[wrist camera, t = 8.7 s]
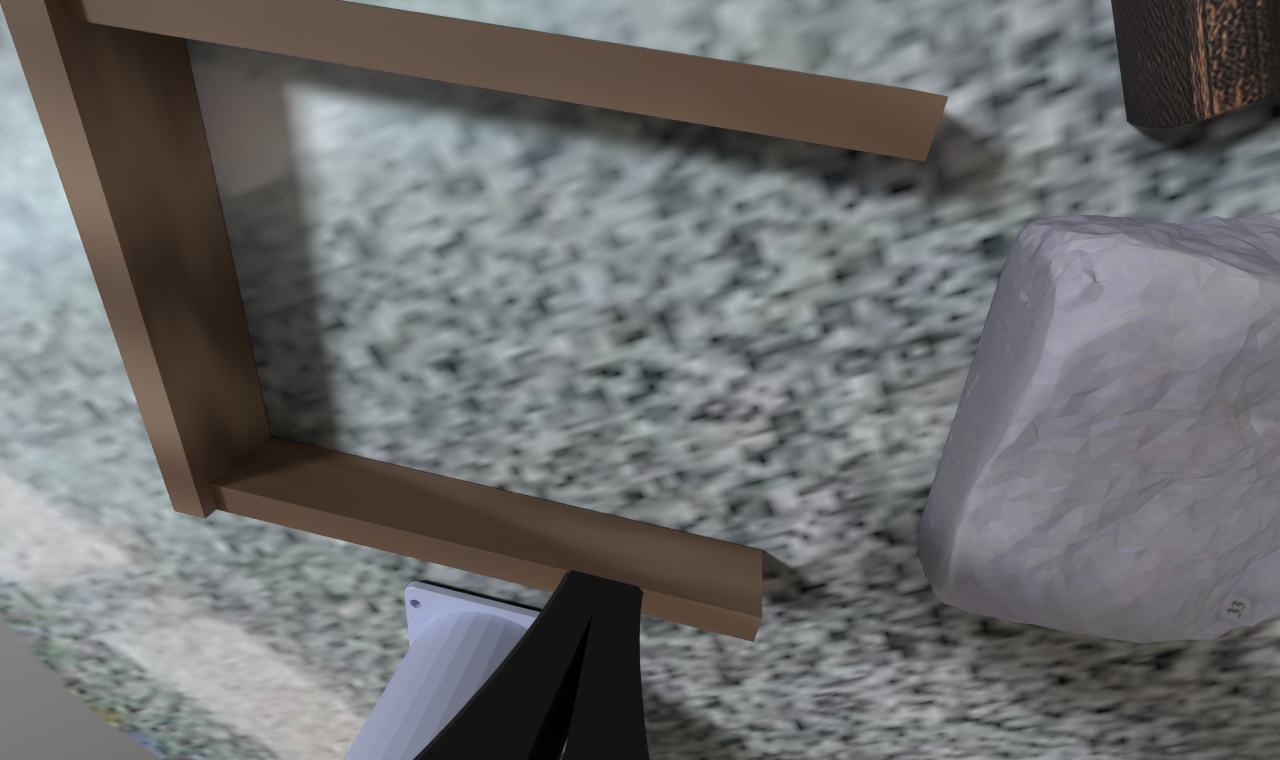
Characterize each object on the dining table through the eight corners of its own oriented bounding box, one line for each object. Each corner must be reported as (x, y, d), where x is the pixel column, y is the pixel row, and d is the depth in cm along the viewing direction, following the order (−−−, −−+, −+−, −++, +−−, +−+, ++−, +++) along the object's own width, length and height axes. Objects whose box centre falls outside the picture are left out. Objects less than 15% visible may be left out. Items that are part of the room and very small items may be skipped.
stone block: (1371, 197, 15) (984, 197, 15) (1657, 261, 11) (1125, 262, 11) (1159, 536, 21) (882, 540, 21) (1290, 660, 17) (946, 667, 17)
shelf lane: (754, 573, 22) (753, 654, 19) (248, 453, 24) (174, 511, 21) (913, 89, 14) (956, 97, 11) (129, -33, 16) (-20, -55, 13)
